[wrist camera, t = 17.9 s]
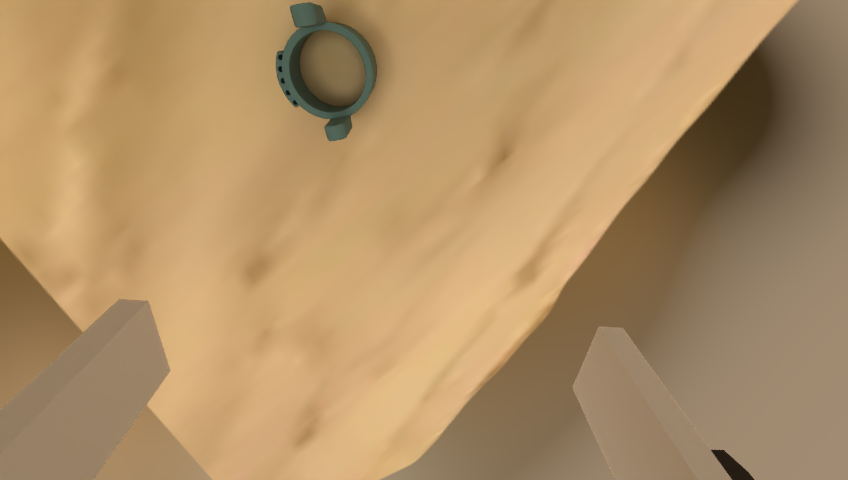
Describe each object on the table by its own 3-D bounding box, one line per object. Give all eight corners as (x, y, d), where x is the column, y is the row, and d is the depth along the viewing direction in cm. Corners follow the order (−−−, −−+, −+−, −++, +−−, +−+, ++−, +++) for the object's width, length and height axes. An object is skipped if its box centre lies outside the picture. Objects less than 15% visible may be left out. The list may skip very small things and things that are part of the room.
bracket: (322, -2, 36) (297, -10, 28) (396, 67, 39) (392, 76, 31) (274, 75, 39) (240, 86, 32) (346, 133, 42) (331, 156, 35)
